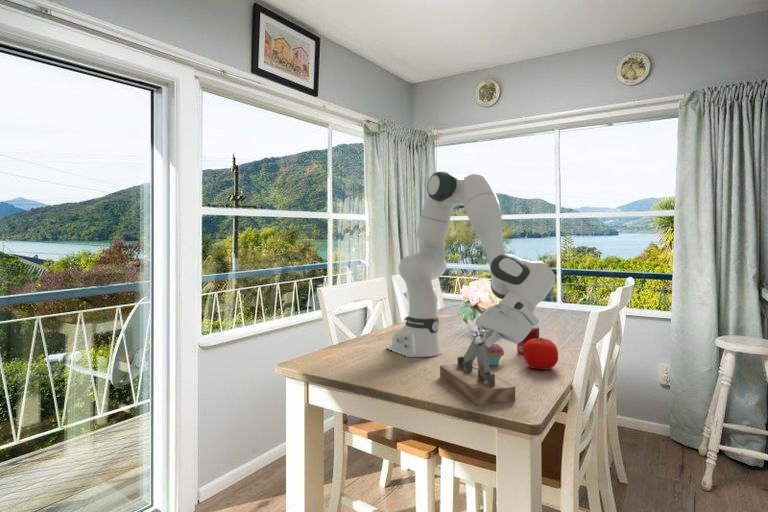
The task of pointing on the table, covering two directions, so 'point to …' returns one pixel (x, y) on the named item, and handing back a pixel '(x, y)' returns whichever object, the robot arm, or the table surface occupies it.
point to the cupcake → (494, 354)
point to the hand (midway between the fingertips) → (484, 345)
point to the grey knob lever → (472, 349)
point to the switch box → (477, 383)
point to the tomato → (540, 353)
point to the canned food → (533, 334)
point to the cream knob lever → (482, 357)
